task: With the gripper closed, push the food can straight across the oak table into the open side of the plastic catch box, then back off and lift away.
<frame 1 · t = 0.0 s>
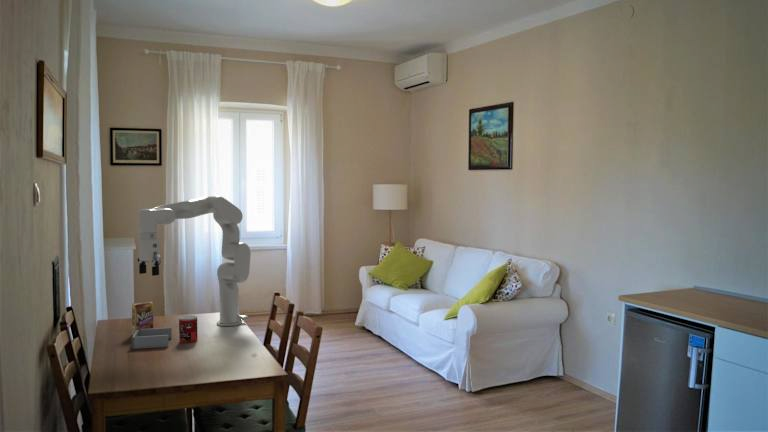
hand: (149, 274, 264), 31 cm above the table, tool pointing down, fingers open, 9 cm apart
candy box: (142, 334, 281), on the table
catch box: (152, 343, 265), on the table
canned food: (188, 341, 269), on the table
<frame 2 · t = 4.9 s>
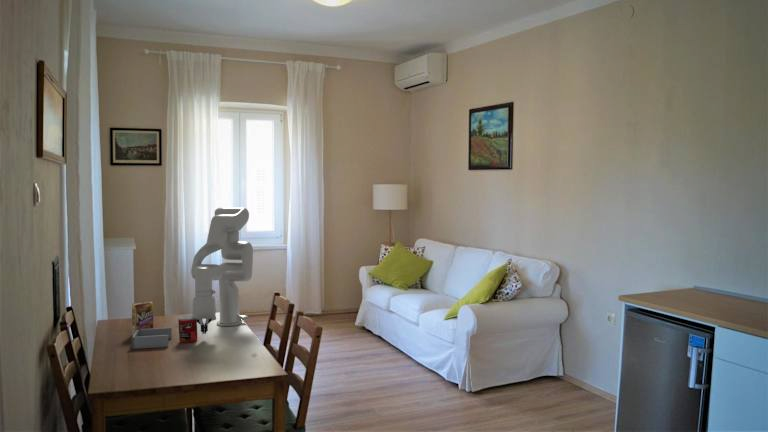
hand: (204, 333, 270), 3 cm above the table, tool pointing down, fingers closed
canned food: (188, 341, 269), on the table, touching gripper
everything else where it was.
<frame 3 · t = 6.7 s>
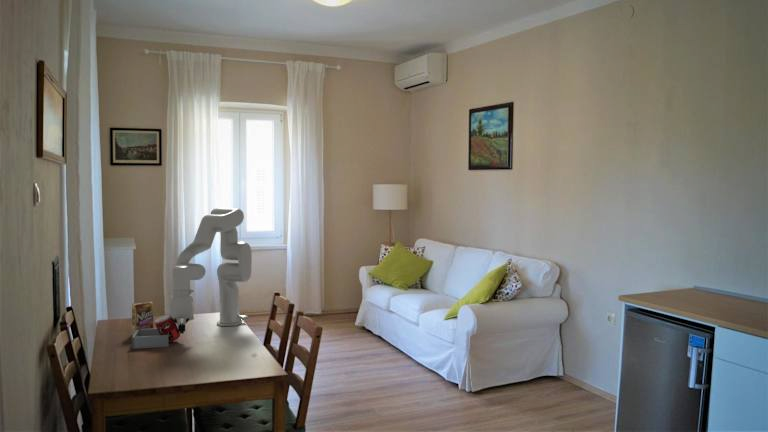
hand: (181, 333, 267), 4 cm above the table, tool pointing down, fingers closed
canned food: (172, 339, 267), point 1 cm above the table, touching gripper
everything else where it was.
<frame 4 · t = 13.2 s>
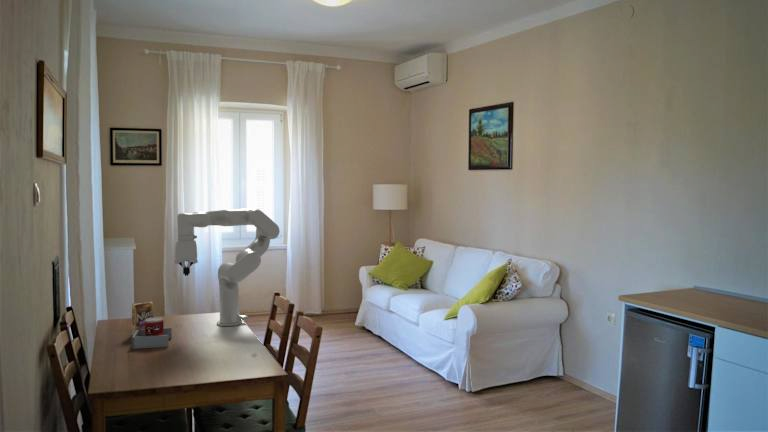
hand: (186, 275, 288), 27 cm above the table, tool pointing down, fingers closed
canned food: (154, 343, 265), resting in catch box
everything else where it was.
at the end: canned food inside the target area on the catch box (1.2 cm from its centre), point 0.0 cm above the catch box's base; canned food moved 14.6 cm from its start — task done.
